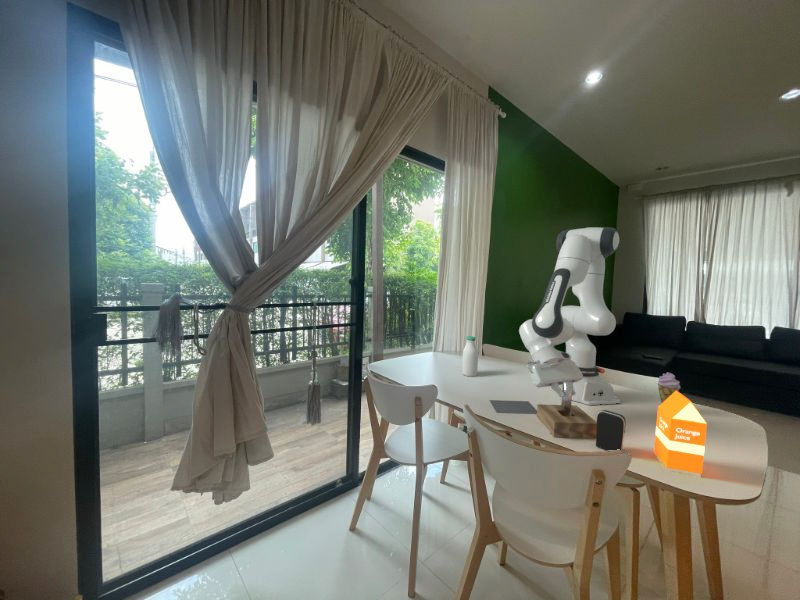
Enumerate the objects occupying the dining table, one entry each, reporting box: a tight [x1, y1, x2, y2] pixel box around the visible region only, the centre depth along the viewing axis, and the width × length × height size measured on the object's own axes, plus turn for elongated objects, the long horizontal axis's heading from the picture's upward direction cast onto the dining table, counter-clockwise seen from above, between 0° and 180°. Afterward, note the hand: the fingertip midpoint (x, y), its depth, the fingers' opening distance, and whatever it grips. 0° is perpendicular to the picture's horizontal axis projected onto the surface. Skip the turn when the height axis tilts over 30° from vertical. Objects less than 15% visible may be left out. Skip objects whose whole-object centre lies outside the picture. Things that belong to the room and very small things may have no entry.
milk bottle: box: [461, 335, 479, 378], centre depth 164 cm, size 8×8×20 cm
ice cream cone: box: [657, 372, 681, 404], centre depth 123 cm, size 7×6×15 cm
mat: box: [489, 399, 537, 415], centre depth 124 cm, size 16×12×1 cm
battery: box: [595, 409, 627, 451], centre depth 95 cm, size 7×4×11 cm, turn 42°
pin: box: [560, 381, 573, 412], centre depth 108 cm, size 3×3×10 cm
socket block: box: [536, 403, 597, 439], centre depth 109 cm, size 14×14×5 cm
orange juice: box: [653, 390, 708, 475], centre depth 87 cm, size 8×9×20 cm
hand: (568, 395), depth 107 cm, fingers closed on pin, 3 cm apart
